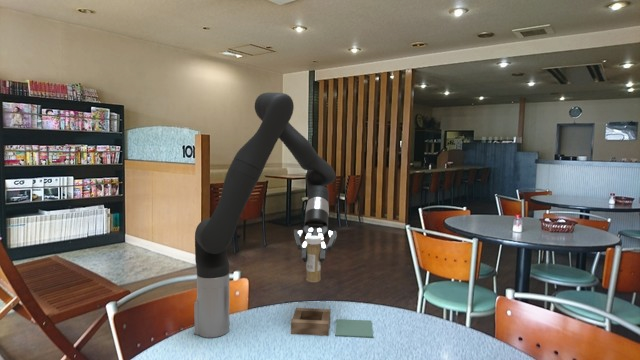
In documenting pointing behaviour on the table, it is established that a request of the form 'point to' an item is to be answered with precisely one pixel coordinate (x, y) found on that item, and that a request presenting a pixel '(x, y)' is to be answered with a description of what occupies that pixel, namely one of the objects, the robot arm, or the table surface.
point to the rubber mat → (354, 328)
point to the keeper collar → (311, 321)
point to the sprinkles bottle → (313, 258)
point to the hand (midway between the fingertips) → (313, 260)
